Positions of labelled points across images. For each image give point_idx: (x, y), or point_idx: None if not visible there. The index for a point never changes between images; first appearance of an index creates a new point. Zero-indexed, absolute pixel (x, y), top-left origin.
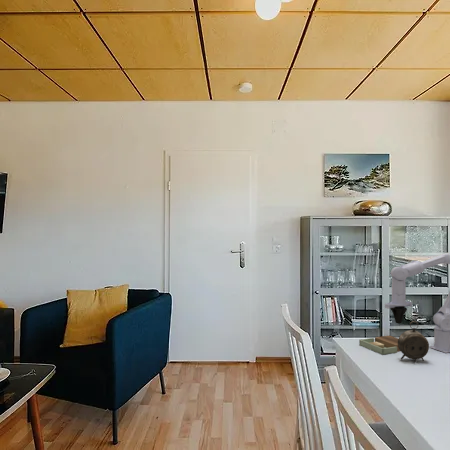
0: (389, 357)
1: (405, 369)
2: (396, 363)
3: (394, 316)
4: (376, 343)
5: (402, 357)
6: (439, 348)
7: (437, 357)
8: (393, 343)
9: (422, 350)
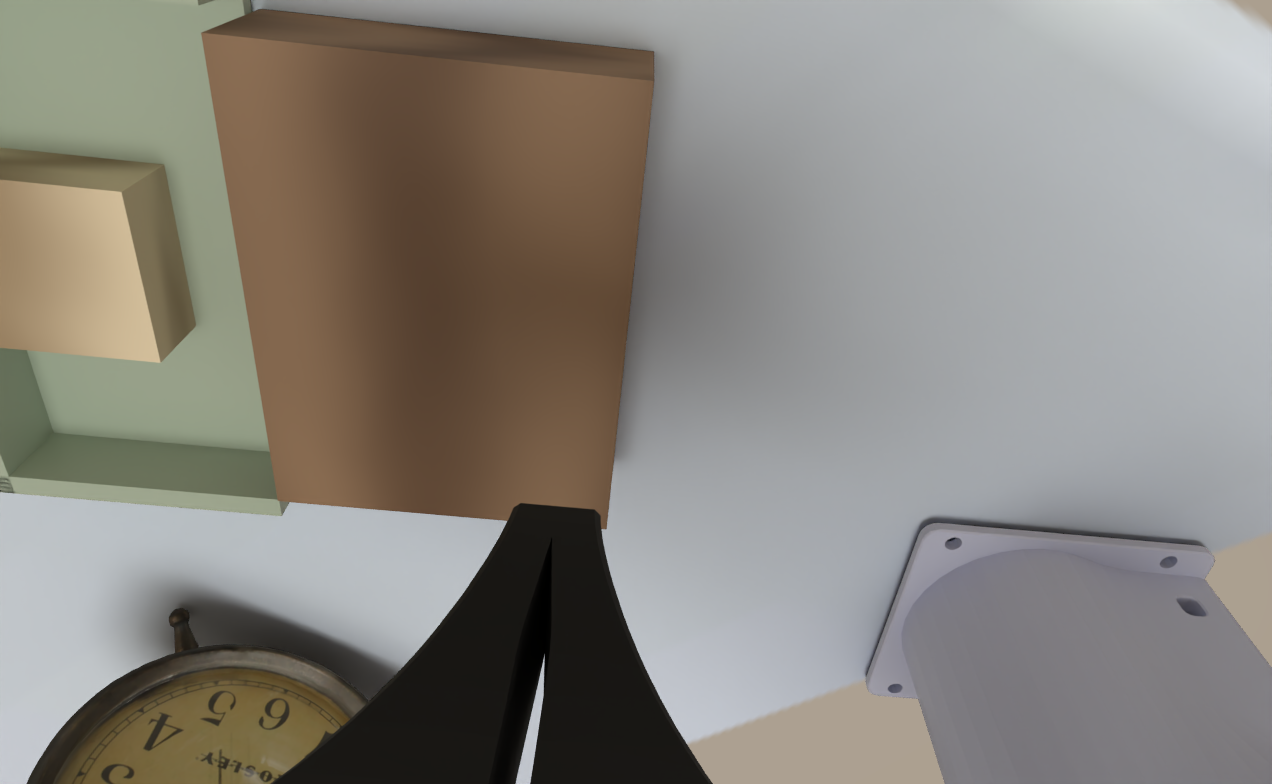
0: (87, 519)
1: (45, 740)
2: (51, 642)
3: (453, 624)
4: (54, 267)
5: (177, 639)
6: (905, 645)
7: None
8: (304, 443)
9: None
